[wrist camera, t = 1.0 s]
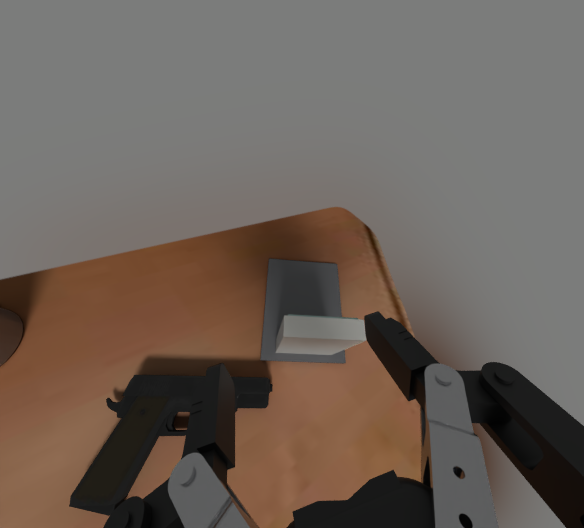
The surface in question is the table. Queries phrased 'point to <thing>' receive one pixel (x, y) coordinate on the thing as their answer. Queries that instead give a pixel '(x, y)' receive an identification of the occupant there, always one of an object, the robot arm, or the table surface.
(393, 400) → the table surface
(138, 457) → the handgun
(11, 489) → the table surface
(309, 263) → the mat
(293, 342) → the tile
